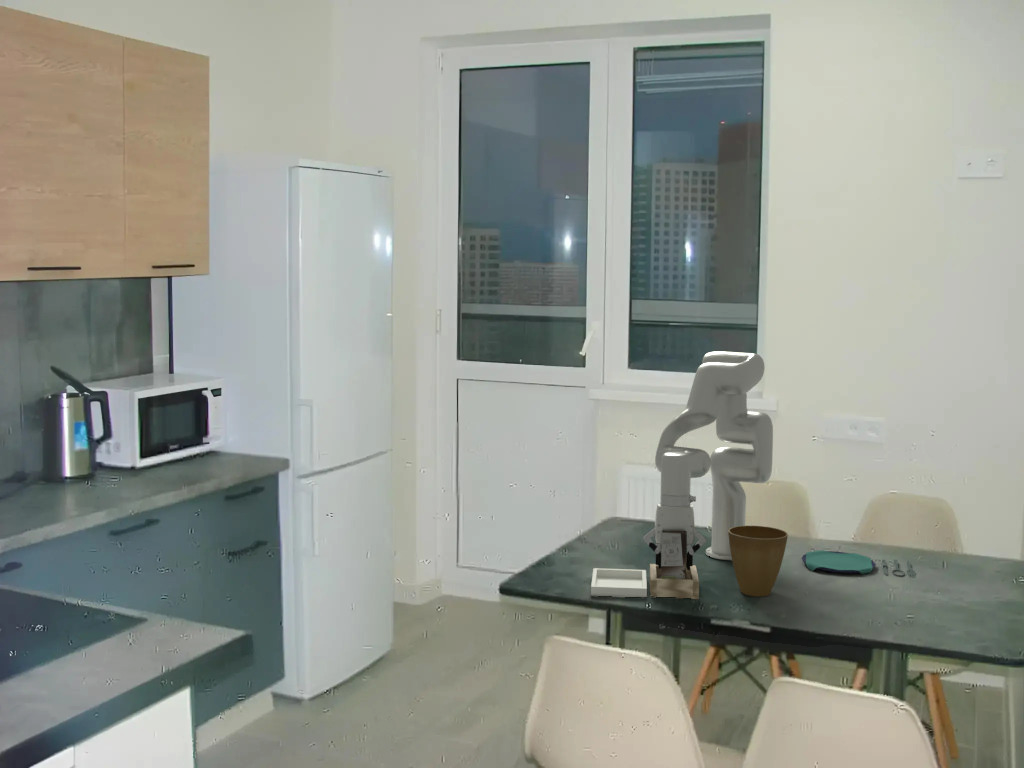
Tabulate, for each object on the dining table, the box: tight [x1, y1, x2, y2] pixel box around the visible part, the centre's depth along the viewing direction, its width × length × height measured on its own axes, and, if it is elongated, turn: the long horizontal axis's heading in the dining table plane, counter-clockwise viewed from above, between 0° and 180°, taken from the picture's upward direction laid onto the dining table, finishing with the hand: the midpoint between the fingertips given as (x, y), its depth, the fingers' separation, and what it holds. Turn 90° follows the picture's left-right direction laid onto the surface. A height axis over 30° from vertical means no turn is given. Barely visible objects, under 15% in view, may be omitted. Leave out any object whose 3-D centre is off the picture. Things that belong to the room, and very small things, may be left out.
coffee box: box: [660, 531, 688, 579], centre depth 276 cm, size 9×6×16 cm
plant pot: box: [728, 525, 789, 598], centre depth 274 cm, size 15×15×16 cm
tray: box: [590, 567, 648, 598], centre depth 278 cm, size 14×17×2 cm
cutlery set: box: [801, 549, 916, 579], centre depth 299 cm, size 20×30×2 cm, turn 74°
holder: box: [649, 563, 700, 600], centre depth 277 cm, size 12×15×4 cm
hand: (673, 567), depth 276 cm, fingers closed on coffee box, 6 cm apart
